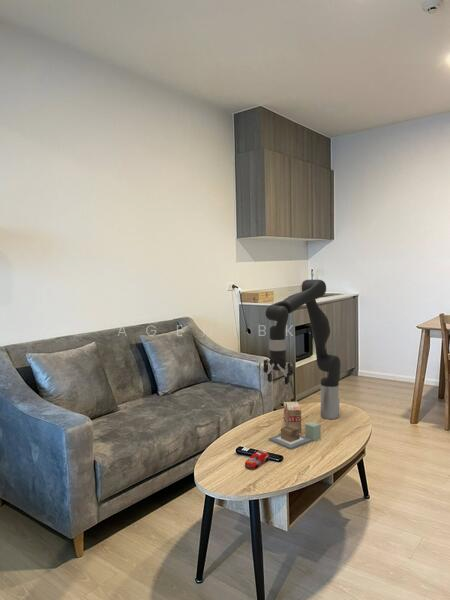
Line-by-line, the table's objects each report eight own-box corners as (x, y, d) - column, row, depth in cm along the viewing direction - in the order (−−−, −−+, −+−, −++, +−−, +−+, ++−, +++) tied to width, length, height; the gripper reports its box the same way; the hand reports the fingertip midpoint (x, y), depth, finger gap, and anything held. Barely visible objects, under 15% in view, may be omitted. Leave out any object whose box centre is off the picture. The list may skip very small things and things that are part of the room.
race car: (253, 472, 172) (253, 462, 172) (242, 468, 175) (242, 458, 175) (271, 460, 182) (271, 450, 182) (261, 456, 186) (260, 447, 185)
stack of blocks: (283, 419, 231) (283, 396, 230) (295, 418, 231) (295, 396, 230) (288, 434, 210) (288, 409, 209) (301, 434, 210) (301, 409, 209)
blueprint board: (289, 432, 211) (289, 420, 210) (312, 441, 200) (311, 428, 199) (268, 440, 202) (268, 427, 202) (290, 449, 191) (290, 436, 191)
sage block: (312, 435, 207) (312, 421, 206) (320, 439, 203) (320, 424, 202) (305, 438, 204) (305, 423, 203) (313, 441, 200) (313, 426, 199)
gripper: (295, 348, 200) (295, 383, 202) (268, 345, 209) (268, 379, 210) (287, 351, 194) (288, 387, 196) (260, 348, 203) (260, 382, 204)
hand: (278, 383), depth 203 cm, fingers open, 8 cm apart
